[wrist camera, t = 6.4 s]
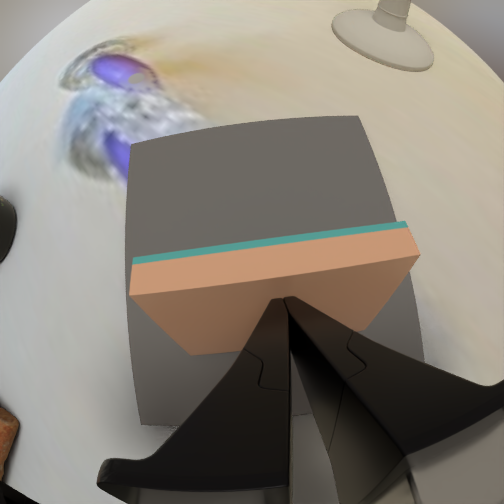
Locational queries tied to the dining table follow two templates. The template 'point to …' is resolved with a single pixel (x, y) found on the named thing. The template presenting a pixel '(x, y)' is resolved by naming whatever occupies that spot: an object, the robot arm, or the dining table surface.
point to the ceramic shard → (6, 435)
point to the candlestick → (384, 36)
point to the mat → (247, 231)
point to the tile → (271, 282)
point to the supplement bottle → (6, 226)
